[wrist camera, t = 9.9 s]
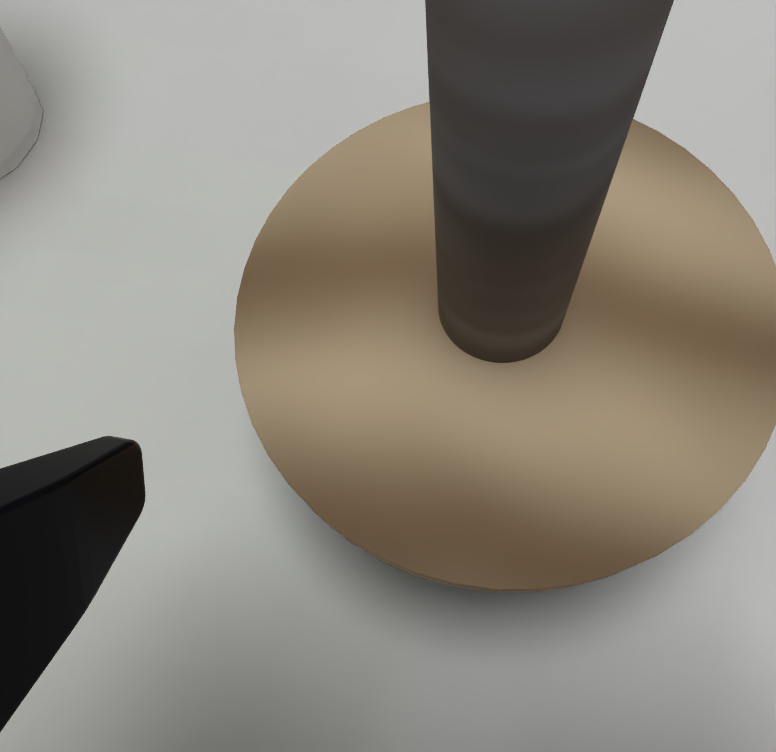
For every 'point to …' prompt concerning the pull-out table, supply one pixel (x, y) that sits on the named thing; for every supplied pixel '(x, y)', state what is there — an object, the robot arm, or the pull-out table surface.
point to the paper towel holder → (513, 313)
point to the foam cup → (16, 110)
